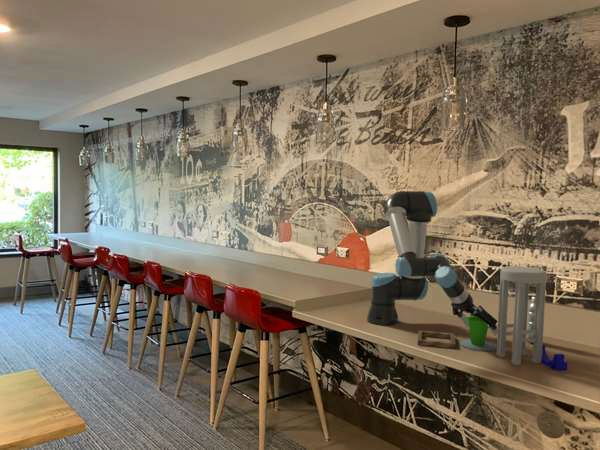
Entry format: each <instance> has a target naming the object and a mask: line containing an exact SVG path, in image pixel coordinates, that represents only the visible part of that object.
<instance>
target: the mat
mask: <svg viewBox="0 0 600 450" xmlns="http://www.w3.org/2000/svg"><path fill="white" fill-rule="evenodd" d="M460 346H462V347H463V348H465V349H469V350H471V351H476V352H477V351H478V352H492V351H496V350H497V344H494V343H492V342H489V341H487V340H485V344H484V346H474V345H472V343H471V338H470V339H464V340H461V341H460Z"/></svg>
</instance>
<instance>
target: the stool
mask: <svg viewBox="0 0 600 450" xmlns="http://www.w3.org/2000/svg"><path fill="white" fill-rule="evenodd" d="M499 277H500V278H499V279H500V280H499V296H498V299H499V301H498V320H497V328H498V333H497V335H496V336H497V337H496V342H497V343H496V355H497V356H498V357H500V358H501V357H502V358H503V357H506V346H507V345H506V343H507V336H512V342H511V343H512V348H511V349H512V350H511V364H513V365H515V366H517V365H518V366H519V365H521V363H522V361H521V360H522V356H526V347H527V345H526V343H531V342H533V343H532V360H531V361H532V362H533V363H535V364H542V363H541V362H542V344H543V345H544V343H543V340H544V324H545V323H544V322H545V308H546V306H545V305H546V291H547V289H546V286H547V272H546V271H545V270H544V269H541V268H537V267H530V266H519V265H517V266H516V265H515V266H512V265H510V266H508V265H506V266H502V267H501V268H500V275H499ZM509 282H514V283H515V285H514V287H515V288H514V289H515V290H514V304H513V305H514V307H513V323H508V306H509V305H508V304H509V303H508V301H509V285H510V283H509ZM530 284H536V288H535V296H536V302H535V321H534V330H528V306H529V292H530V291H529V290H530ZM509 328H510V329H511V328H512V331H507V329H509ZM526 334H534V338H526Z"/></svg>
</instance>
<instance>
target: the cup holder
mask: <svg viewBox="0 0 600 450" xmlns="http://www.w3.org/2000/svg"><path fill="white" fill-rule="evenodd" d="M417 335H418V336H417V346H423V345H425V346H426V347H433V348H434V347H435V348H443V349H444V348H446V349H456V337H455V333H452V332H451V333H450V332H440V331H439V332H438V331H428V330H420V329H419V330H418V334H417ZM423 337H427V338H428V337H429V338H437V339H449V340H450V341H442V340H441V341H439V340H432V339H431V340H429V339H423Z"/></svg>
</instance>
